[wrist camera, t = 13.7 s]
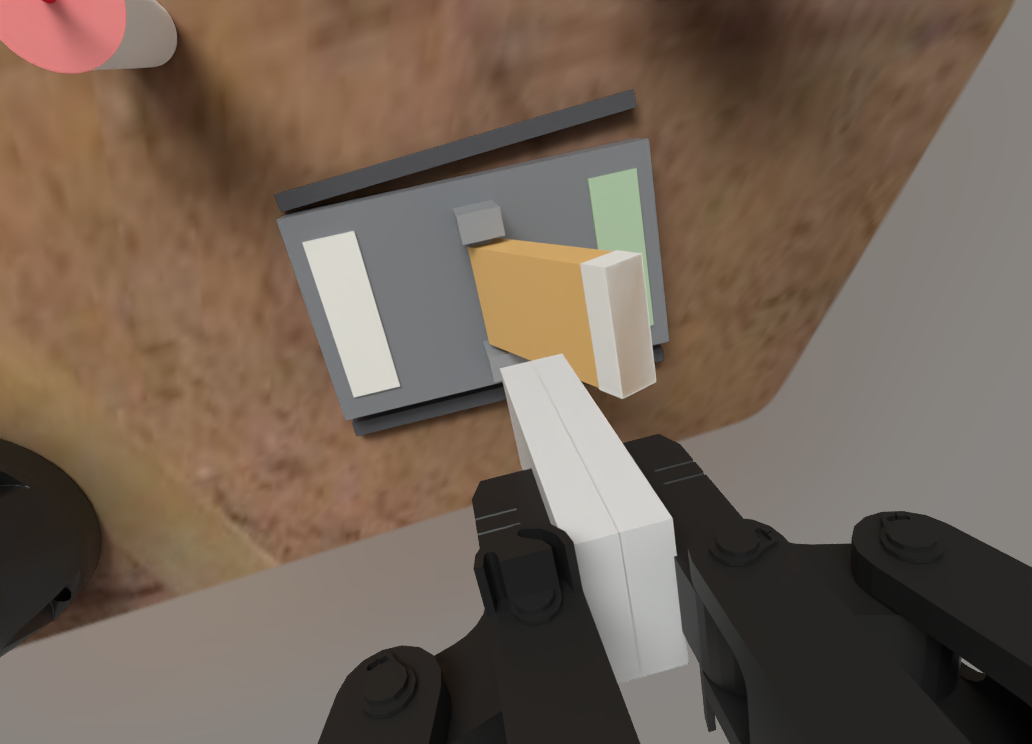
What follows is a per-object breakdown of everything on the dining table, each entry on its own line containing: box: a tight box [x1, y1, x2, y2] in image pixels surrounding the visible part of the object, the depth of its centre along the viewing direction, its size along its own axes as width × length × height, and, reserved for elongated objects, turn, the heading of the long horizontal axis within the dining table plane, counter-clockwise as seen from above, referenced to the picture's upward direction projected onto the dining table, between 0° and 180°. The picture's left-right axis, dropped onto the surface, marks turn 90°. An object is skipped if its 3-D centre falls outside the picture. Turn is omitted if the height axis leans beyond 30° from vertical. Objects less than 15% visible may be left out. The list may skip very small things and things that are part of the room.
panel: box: [277, 138, 669, 420], centre depth 37 cm, size 22×13×6 cm, turn 101°
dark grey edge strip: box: [352, 344, 664, 436], centre depth 43 cm, size 22×1×1 cm, turn 101°
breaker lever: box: [468, 238, 656, 399], centre depth 32 cm, size 2×6×13 cm, turn 11°
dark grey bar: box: [274, 89, 637, 212], centre depth 36 cm, size 22×1×1 cm, turn 105°
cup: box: [0, 0, 177, 73], centre depth 27 cm, size 5×5×12 cm
